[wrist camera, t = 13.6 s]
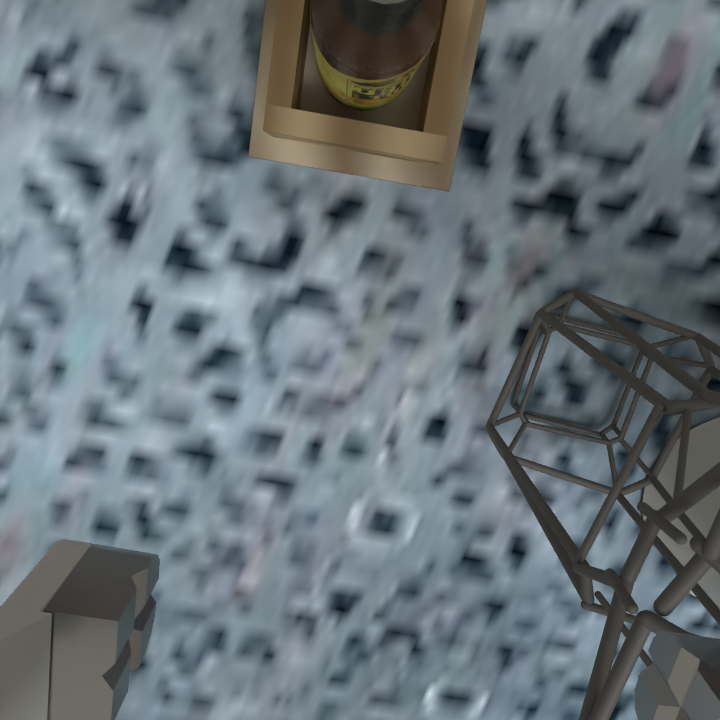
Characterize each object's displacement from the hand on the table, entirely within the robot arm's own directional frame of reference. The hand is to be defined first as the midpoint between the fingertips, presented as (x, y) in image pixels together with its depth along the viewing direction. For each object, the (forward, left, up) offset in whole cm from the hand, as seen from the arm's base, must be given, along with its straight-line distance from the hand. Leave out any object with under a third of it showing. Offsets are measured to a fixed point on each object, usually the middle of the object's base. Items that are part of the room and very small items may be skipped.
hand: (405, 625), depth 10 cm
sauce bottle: (+2, -14, -36) cm, 38 cm away
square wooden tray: (+2, -14, -37) cm, 39 cm away
